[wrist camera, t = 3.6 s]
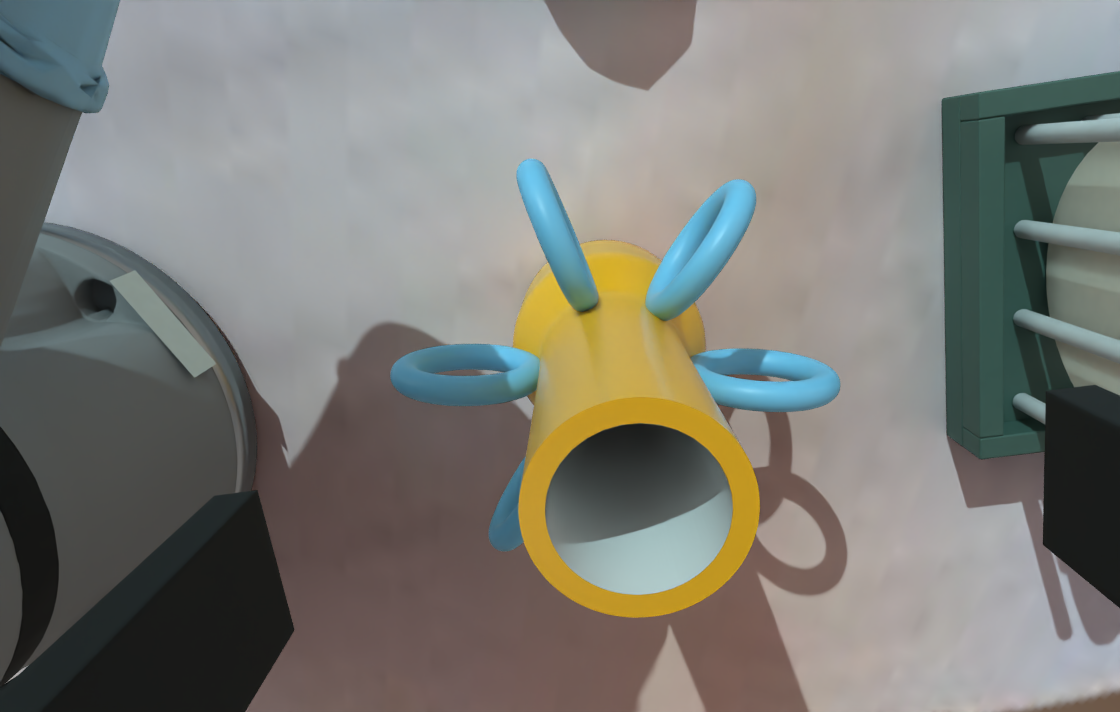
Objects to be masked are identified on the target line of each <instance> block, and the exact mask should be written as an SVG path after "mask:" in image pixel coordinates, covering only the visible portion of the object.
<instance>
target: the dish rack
mask: <svg viewBox="0 0 1120 712" xmlns="http://www.w3.org/2000/svg"><path fill="white" fill-rule="evenodd" d="M942 130H943V198H944V266H945V334H946V402H947V435H948V436H949V437H950V438H952V439H953V440H954V441H956V442H957V443H958V444H960V445H961V446H963V447H964V448H965V449H967V450H968V451H969V452H971V453H972V454H974V455H975V456H976V457H978V458H979V459H989V458H997V457H1005V456H1014V455H1022V454H1030V453H1038V452H1045V406H1046V391H1049V390H1057V389H1065V388H1073V387H1081V386H1089V385H1097V386H1099V387H1101V388H1104V389H1106V390H1108V391H1111V392H1113V393H1115V394H1118V395H1120V71H1118V72H1111V73H1104V74H1098V75H1091V76H1084V77H1078V78H1071V79H1064V80H1058V81H1051V82H1044V83H1038V84H1031V85H1024V86H1018V87H1011V88H1004V89H998V90H991V91H984V92H978V93H972V94H966V95H960V96H954V97H948V98H944V99H942Z"/></svg>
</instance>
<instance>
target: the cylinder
mask: <svg viewBox="0 0 1120 712" xmlns="http://www.w3.org/2000/svg"><path fill="white" fill-rule="evenodd" d="M517 182H518V186H519V190H520V193H521V196H522V199H523V202H524V205H525V207H526V210H527V213H528V215H529V218H530V220H531V223H532V225H533V228H534V230H535V233H536V235H537V238H538V240H539V242H540V245H541V247H542V249H543V252H544V254H545V256H546V259H547V261H548V263H546V264H545V265H544V266H543V268H542V269H541V270H540V271H539V272H538V274H537V275H536V276H535V278H534V279H533V281H532V283H531V285H530V286H529V288H528V290H527V293H526V295H525V298H524V300H523V303H522V306H521V309H520V311H519V314H518V317H517V321H516V324H515V329H514V336H513V347H508V346H501V345H490V344H455V345H444V346H436V347H430V348H425V349H421V350H418V351H414V352H411V353H409V354H407V355H405V356H403V357H401V358H400V359H399V360H397V361H396V363H395V364H394V365H393V367H392V369H391V374H390V377H391V382H392V384H393V386H394V387H395V388H396V390H397V391H399V392H400V393H401V394H403V395H405V396H407V397H409V398H411V399H414V400H417V401H421V402H425V403H430V404H437V405H447V406H481V405H491V404H498V403H504V402H509V401H513V400H516V399H519V398H522V397H525V396H527V397H528V398H529V400H530V401H531V402H532V404H533V405H534V409H533V415H532V421H531V427H530V433H529V440H528V446H527V452H526V456H525V457H524V459H523V460H522V462H521V463H520V465H519V467H518V468H517V470H516V472H515V473H514V475H513V477H512V478H511V480H510V482H509V484H508V485H507V487H506V489H505V491H504V493H503V495H502V497H501V499H500V501H499V503H498V505H497V507H496V510H495V512H494V514H493V517H492V520H491V523H490V527H489V540H490V543H491V544H492V546H493V547H494V548H495V549H497V550H499V551H510V550H513V549H515V548H516V547H518V546H519V545H521V544H522V543H523V542H524V544H525V546H526V549H527V551H528V553H529V555H530V557H531V559H532V561H533V562H534V564H535V566H536V567H537V568H538V570H539V571H540V572H541V574H542V575H543V576H544V577H545V578H546V580H547V581H548V582H549V583H550V584H551V585H553V586H554V587H555V588H556V589H557V590H558V591H560V592H561V593H562V594H564V595H565V596H566V597H568V598H570V599H571V600H573V601H575V602H576V603H578V604H580V605H582V606H585V607H587V608H589V609H592V610H595V611H598V612H601V613H605V614H609V615H614V616H621V617H634V618H639V617H654V616H660V615H665V614H669V613H673V612H677V611H680V610H682V609H685V608H688V607H690V606H692V605H694V604H696V603H698V602H700V601H702V600H704V599H705V598H707V597H708V596H710V595H711V594H713V593H714V592H715V591H717V590H718V589H719V588H720V587H722V586H723V585H724V584H725V583H726V582H727V581H728V580H729V579H730V578H731V577H732V576H733V575H734V573H735V572H736V571H737V570H738V568H739V567H740V566H741V564H742V563H743V561H744V559H745V558H746V556H747V554H748V552H749V550H750V548H751V546H752V543H753V541H754V538H755V535H756V531H757V527H758V522H759V514H760V497H759V489H758V484H757V480H756V476H755V473H754V470H753V468H752V465H751V463H750V461H749V459H748V457H747V455H746V453H745V452H744V450H743V448H742V447H741V445H740V443H739V441H738V440H737V438H736V436H735V435H734V433H733V431H732V429H731V428H730V426H729V424H728V423H727V421H726V419H725V417H724V416H723V414H722V412H721V411H720V409H719V407H718V405H717V404H719V405H723V406H727V407H732V408H737V409H744V410H752V411H763V412H794V411H804V410H810V409H814V408H818V407H821V406H824V405H826V404H828V403H829V402H831V401H832V400H833V399H834V398H835V397H836V396H837V395H838V393H839V390H840V379H839V377H838V375H837V374H836V372H835V371H834V370H833V369H832V368H830V367H829V366H827V365H826V364H824V363H822V362H820V361H817V360H814V359H811V358H808V357H805V356H801V355H797V354H792V353H786V352H780V351H772V350H762V349H720V350H712V351H707V352H705V350H706V340H705V331H704V326H703V322H702V318H701V315H700V313H699V310H698V308H697V306H696V303H695V301H696V300H697V299H698V298H699V297H700V296H701V295H702V294H703V293H704V292H705V290H706V289H707V288H708V287H709V286H710V284H711V283H712V282H713V281H714V279H715V278H716V277H717V276H718V274H719V273H720V272H721V270H722V269H723V267H724V266H725V265H726V263H727V262H728V260H729V259H730V257H731V256H732V254H733V253H734V251H735V249H736V248H737V246H738V244H739V243H740V241H741V239H742V237H743V236H744V234H745V232H746V230H747V228H748V226H749V223H750V221H751V219H752V216H753V213H754V210H755V206H756V193H755V190H754V188H753V186H752V185H751V184H750V183H749V182H747V181H745V180H740V179H737V180H732V181H729V182H727V183H726V184H724V185H723V186H721V187H720V188H719V189H717V190H716V191H715V192H714V193H713V194H712V195H711V196H710V197H709V198H708V199H707V200H706V201H705V202H704V203H703V205H702V206H701V207H700V208H699V209H698V210H697V212H696V213H695V214H694V215H693V217H692V218H691V219H690V220H689V222H688V223H687V224H686V226H685V227H684V228H683V230H682V231H681V233H680V234H679V235H678V237H677V238H676V240H675V241H674V243H673V244H672V246H671V247H670V249H669V250H668V252H667V254H666V255H665V257H664V259H663V260H662V261H661V260H660V259H659V258H657V257H656V256H655V255H653V254H652V253H650V252H648V251H647V250H645V249H643V248H641V247H638V246H636V245H633V244H630V243H626V242H622V241H615V240H596V241H589V242H585V243H581V244H579V241H578V239H577V237H576V234H575V232H574V229H573V227H572V225H571V222H570V220H569V218H568V215H567V213H566V211H565V208H564V206H563V204H562V201H561V199H560V197H559V195H558V192H557V190H556V188H555V186H554V184H553V181H552V179H551V177H550V175H549V173H548V171H547V169H546V167H545V166H544V165H543V163H542V162H540V161H539V160H536V159H527V160H525V161H523V162H522V163H521V164H520V165H519V167H518V169H517ZM470 369H476V370H493V371H500V372H503V373H497V374H490V375H479V376H450V375H439V374H434V373H439V372H445V371H453V370H470ZM732 374H749V375H763V376H771V377H777V378H783V379H787V380H791V381H788V382H770V381H755V380H746V379H740V378H734V377H729V376H725V375H732Z"/></svg>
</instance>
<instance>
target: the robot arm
mask: <svg viewBox="0 0 1120 712" xmlns="http://www.w3.org/2000/svg"><path fill="white" fill-rule="evenodd" d="M119 2H120V0H0V712H245V711H246V709H247V708H248V706H249V704H250V703H251V701H252V699H253V698H254V696H255V694H256V693H257V691H258V689H259V688H260V686H261V685H262V683H263V681H264V680H265V678H266V676H267V675H268V673H269V671H270V670H271V668H272V666H273V665H274V663H275V661H276V660H277V658H278V657H279V655H280V653H281V652H282V650H283V648H284V647H285V645H286V643H287V642H288V640H289V638H290V637H291V635H292V633H293V632H294V626H293V622H292V619H291V615H290V611H289V607H288V604H287V600H286V596H285V592H284V588H283V585H282V581H281V577H280V573H279V570H278V566H277V562H276V558H275V555H274V551H273V547H272V543H271V540H270V536H269V532H268V528H267V525H266V521H265V517H264V513H263V509H262V506H261V502H260V498H259V494H258V491H257V490H255V491H251V489H252V484H253V480H254V475H255V467H256V458H257V435H256V426H255V417H254V413H253V408H252V403H251V399H250V396H249V392H248V389H247V386H246V383H245V380H244V377H243V375H242V373H241V370H240V368H239V366H238V363H237V361H236V359H235V357H234V355H233V353H232V352H231V350H230V348H229V346H228V344H227V342H226V341H225V339H224V338H223V336H222V335H221V333H220V332H219V330H218V329H217V327H216V326H215V324H214V323H213V322H212V320H211V319H210V318H209V317H208V315H207V314H206V313H205V312H204V310H203V309H202V308H201V307H200V306H199V305H198V304H197V303H196V302H195V300H194V299H193V298H192V297H191V296H190V295H189V294H188V293H187V292H186V291H185V290H184V289H183V288H181V287H180V286H179V285H178V284H177V283H176V282H175V281H174V280H172V279H171V278H170V277H169V276H168V275H166V274H165V273H164V272H162V271H161V270H160V269H158V268H157V267H156V266H154V265H153V264H151V263H150V262H148V261H147V260H145V259H143V258H142V257H140V256H139V255H137V254H135V253H134V252H132V251H130V250H128V249H126V248H124V247H122V246H120V245H118V244H116V243H114V242H112V241H109V240H107V239H104V238H102V237H99V236H97V235H94V234H92V233H88V232H85V231H82V230H78V229H75V228H72V227H67V226H62V225H57V224H52V223H44V220H45V217H46V214H47V211H48V208H49V205H50V202H51V199H52V196H53V193H54V191H55V188H56V185H57V182H58V179H59V176H60V173H61V170H62V167H63V164H64V161H65V159H66V156H67V153H68V150H69V147H70V144H71V141H72V139H73V136H74V133H75V130H76V128H77V125H78V122H79V119H80V117H81V114H82V112H84V113H97V112H99V111H100V110H101V109H102V106H103V104H104V101H105V99H106V96H107V94H108V89H109V83H108V80H107V76H106V74H105V72H104V69H103V67H102V63H103V59H104V56H105V52H106V48H107V45H108V41H109V38H110V34H111V31H112V27H113V24H114V20H115V17H116V13H117V10H118V6H119ZM1043 545H1044V546H1045V547H1046V548H1048V549H1049V550H1050V551H1051V552H1052V553H1054V554H1055V555H1056V556H1057V557H1058V558H1060V559H1061V560H1062V561H1063V562H1065V563H1066V564H1067V565H1068V566H1069V567H1071V568H1072V569H1073V570H1074V571H1075V572H1077V573H1078V574H1079V575H1080V576H1081V577H1083V578H1084V579H1085V580H1086V581H1088V582H1089V583H1090V584H1091V585H1092V586H1094V587H1095V588H1096V589H1097V590H1098V591H1100V592H1101V593H1102V594H1103V595H1105V596H1106V597H1107V598H1108V599H1109V600H1111V601H1112V602H1113V603H1114V604H1115V605H1117V606H1118V607H1119V608H1120V395H1118V394H1115V393H1113V392H1111V391H1108V390H1106V389H1104V388H1101V387H1099V386H1097V385H1089V386H1081V387H1073V388H1065V389H1057V390H1049V391H1046V406H1045V460H1044V513H1043ZM26 666H28V667H27V668H26V669H25V670H24V671H23V672H21V673H20V674H19V675H18V676H16V677H15V678H13V679H12V680H10V681H9V682H7V681H8V680H9V679H10V678H12V677H13V676H14V675H15V674H16V673H17V672H18V671H20V670H21V669H22V668H24V667H26ZM6 682H7V683H6ZM5 683H6V684H5Z"/></svg>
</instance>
